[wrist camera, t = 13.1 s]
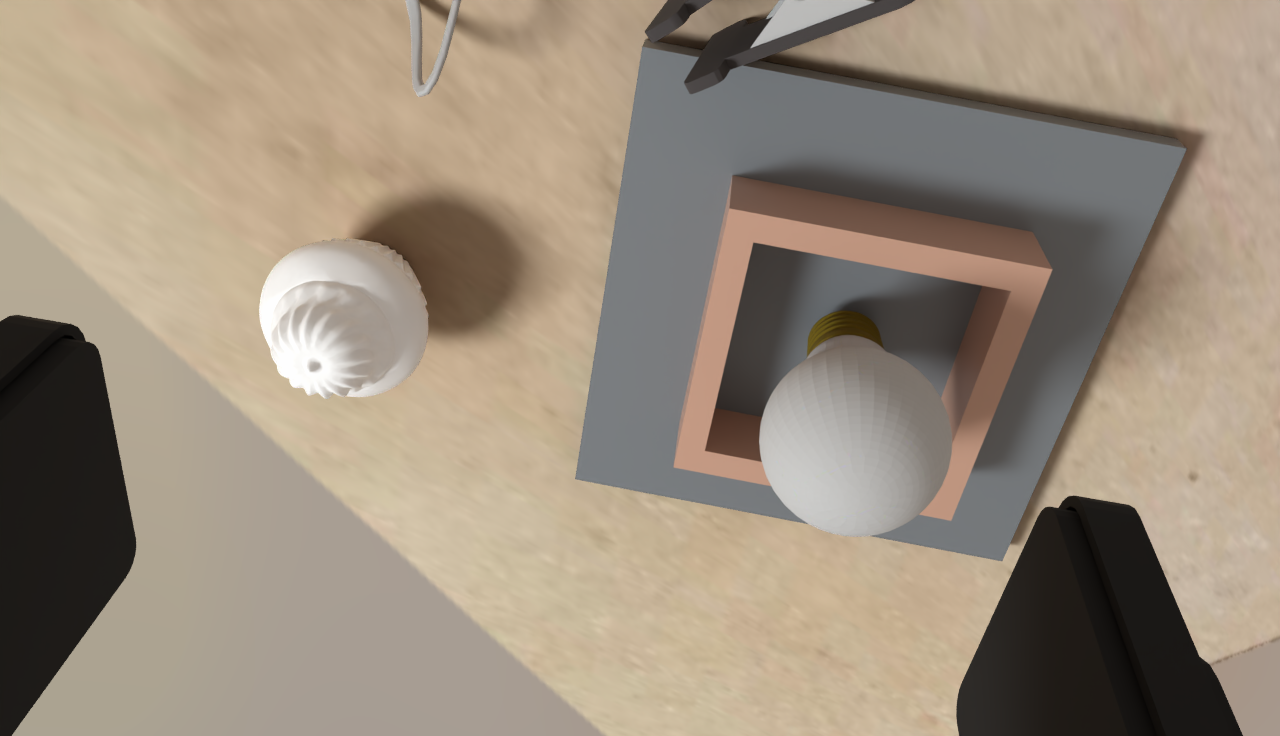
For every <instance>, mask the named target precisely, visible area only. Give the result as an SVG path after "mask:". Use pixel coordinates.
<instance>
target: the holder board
mask: <svg viewBox="0 0 1280 736" xmlns="http://www.w3.org/2000/svg"><path fill="white" fill-rule="evenodd" d="M702 52H703V50H700V49H694V48H689V47H684V46H678V45H673V44H668V43H662V42H657V41H656V42H654V43H652V42H651V41H650V40H645V42H644V44H643V47H642V53H641V59H640V66H639V72H638V79H637V85H636V91H635V98H634V104H633V111H632V117H631V124H630V130H629V136H628V143H627V149H626V156H625V162H624V169H623V175H622V181H621V188H620V194H619V201H618V207H617V214H616V220H615V226H614V233H613V239H612V246H611V252H610V259H609V265H608V272H607V278H606V284H605V291H604V297H603V304H602V310H601V317H600V323H599V329H598V336H597V342H596V349H595V355H594V362H593V368H592V374H591V381H590V387H589V394H588V400H587V407H586V413H585V419H584V426H583V432H582V439H581V445H580V452H579V458H578V464H577V471H576V477H575V479H577V480H582V481H587V482H593V483H598V484H603V485H608V486H613V487H619V488H624V489H629V490H634V491H639V492H645V493H650V494H655V495H660V496H665V497H671V498H676V499H681V500H686V501H691V502H697V503H702V504H707V505H712V506H717V507H723V508H728V509H733V510H738V511H743V512H749V513H754V514H759V515H764V516H769V517H775V518H780V519H785V520H790V521H795V522H801V523H806V522H805V521H803V520H802V519H800V518H799V517H797V516H796V515H795V514H794V513H793V512H792V511H791V510H789V509H788V508H787V507H786V506H785V505H784V504H783V502H782V501H781V500H780V498H779V497H778V496H777V495H776V493H775V492H774V490H773V488H772V486H771V484H770V483H769V481H768V479H767V476H766V474H765V470H764V467H763V464H762V461H761V454H760V445H759V437H760V425H761V420H762V417H763V413H764V410H765V407H766V404H767V402H768V400H769V398H770V396H771V394H772V392H773V391H774V389H775V388H776V387H777V385H778V384H779V382H780V381H781V380H782V379H783V378H784V377H785V376H786V375H787V374H788V373H789V372H790V371H791V370H792V369H793V368H794V367H796V366H797V365H798V364H800V363H801V362H803V361H804V360H806V359H807V345H808V336H809V333H810V331H811V329H812V327H813V326H814V325H815V323H816V322H817V321H818V320H820V319H821V318H822V317H824V316H826V315H828V314H830V313H833V312H837V311H854V312H858V313H861V314H863V315H865V316H867V317H868V318H869V319H871V320H872V321H873V322H874V323H875V325H876V326H877V328H878V330H879V332H880V336H881V340H882V343H883V347H884V350H885V351H886V352H888V353H891V354H893V355H895V356H897V357H899V358H901V359H903V360H905V361H907V362H908V363H909V364H911V365H912V366H913V367H915V368H916V369H917V370H919V371H920V372H921V373H922V374H923V375H924V376H925V377H926V378H927V379H928V380H929V382H930V383H931V384H932V385H933V387H934V388H935V390H936V391H937V393H938V394H939V396H940V397H941V399H942V401H943V404H944V406H945V409H946V411H947V414H948V417H949V422H950V427H951V432H952V454H951V460H950V465H949V469H948V472H947V475H946V477H945V479H944V482H943V484H942V486H941V488H940V490H939V491H938V493H937V494H936V496H935V498H934V499H933V500H932V501H931V503H930V504H929V505H928V506H927V507H926V508H925V509H924V510H923V511H922V512H921V513H920V514H918V515H917V516H916V517H915V518H914V519H912V520H911V521H909V522H907V523H906V524H904V525H902V526H900V527H898V528H896V529H893V530H891V531H889V532H885V533H882V534H878V535H872V536H873V537H878V538H884V539H889V540H894V541H899V542H904V543H910V544H915V545H920V546H925V547H930V548H936V549H941V550H946V551H951V552H956V553H962V554H967V555H972V556H977V557H982V558H988V559H993V560H998V561H1002V560H1003V558H1004V556H1005V554H1006V551H1007V549H1008V547H1009V545H1010V542H1011V540H1012V538H1013V536H1014V534H1015V531H1016V529H1017V527H1018V525H1019V522H1020V520H1021V518H1022V516H1023V513H1024V511H1025V509H1026V507H1027V505H1028V502H1029V500H1030V498H1031V496H1032V493H1033V491H1034V489H1035V487H1036V484H1037V482H1038V480H1039V478H1040V476H1041V473H1042V471H1043V469H1044V467H1045V464H1046V462H1047V460H1048V458H1049V455H1050V453H1051V451H1052V449H1053V446H1054V444H1055V442H1056V440H1057V438H1058V435H1059V433H1060V431H1061V429H1062V426H1063V424H1064V422H1065V420H1066V417H1067V415H1068V413H1069V411H1070V409H1071V406H1072V404H1073V402H1074V400H1075V397H1076V395H1077V393H1078V391H1079V388H1080V386H1081V384H1082V382H1083V380H1084V377H1085V375H1086V373H1087V371H1088V368H1089V366H1090V364H1091V362H1092V359H1093V357H1094V355H1095V353H1096V350H1097V348H1098V346H1099V344H1100V342H1101V339H1102V337H1103V335H1104V333H1105V330H1106V328H1107V326H1108V324H1109V321H1110V319H1111V317H1112V315H1113V313H1114V310H1115V308H1116V306H1117V304H1118V301H1119V299H1120V297H1121V295H1122V292H1123V290H1124V288H1125V286H1126V284H1127V281H1128V279H1129V277H1130V275H1131V272H1132V270H1133V268H1134V266H1135V263H1136V261H1137V259H1138V257H1139V254H1140V252H1141V250H1142V248H1143V246H1144V243H1145V241H1146V239H1147V237H1148V234H1149V232H1150V230H1151V228H1152V225H1153V223H1154V221H1155V219H1156V217H1157V214H1158V212H1159V210H1160V208H1161V205H1162V203H1163V201H1164V199H1165V196H1166V194H1167V192H1168V190H1169V188H1170V185H1171V183H1172V181H1173V179H1174V176H1175V174H1176V172H1177V170H1178V167H1179V165H1180V163H1181V161H1182V158H1183V156H1184V154H1185V152H1186V150H1187V148H1186V147H1185V146H1184V145H1183V144H1182V143H1181V142H1180V141H1179V140H1178V139H1175V138H1170V137H1165V136H1159V135H1154V134H1149V133H1143V132H1138V131H1133V130H1127V129H1122V128H1117V127H1111V126H1106V125H1101V124H1095V123H1090V122H1084V121H1079V120H1074V119H1068V118H1063V117H1058V116H1052V115H1047V114H1042V113H1036V112H1031V111H1026V110H1020V109H1015V108H1010V107H1004V106H999V105H994V104H988V103H983V102H978V101H972V100H967V99H962V98H956V97H951V96H946V95H940V94H935V93H930V92H924V91H919V90H914V89H908V88H903V87H898V86H892V85H887V84H881V83H876V82H871V81H865V80H860V79H855V78H849V77H844V76H839V75H833V74H828V73H823V72H817V71H812V70H807V69H801V68H796V67H791V66H785V65H780V64H775V63H769V62H764V61H759V60H756V61H753V62H751V63H748V64H745V65H742V66H740V67H737V68H734V69H731V70H730V71H729V73H728V75H727V76H726V78H725V79H724V80H723V81H721V82H720V83H718V84H716V85H714V86H712V87H709V88H707V89H704V90H702V91H700V92H697V93H694V94H689V92H688V90H687V88H686V86H685V84H684V81H685V79H686V78H687V76H688V74H689V73H690V71H691V69H692V68H693V66H694V65H695V63H696V61H697V60H698V58H699V57H700V55H701V53H702ZM806 524H808V523H806Z"/></svg>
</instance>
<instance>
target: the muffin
mask: <svg viewBox="0 0 1280 736" xmlns="http://www.w3.org/2000/svg"><path fill="white" fill-rule="evenodd" d="M426 305H427V301H426V299H425V297H424V295H423V293H422V291H421V285H420V283H419V281H418V279H417V277H416V275H415V273H414V272H413V270H412V268H411V267H410V266H409V263H408V261H406V260H403V257H402V255H399V254H397V253H396V251H395V250H391V249H390V248H389V247H388V246H384V245H381V243H377V242H371V241H365V240H358V239H351V238H346V239H335V238H333V239H332V240H331V241H328V240H323V241H321V242H316V243H312V244H308V245H305V246H302V247H300V248H297V249H295V250H293V251H292V252H290V253H289V254H287V255H286V256H285V257H283V258H282V259H281V260H280V261H279V262H278V263H277V264H276V265H275V267H274V268H273V269H272V271H271V272H270V274H269V276H268V278H267V279H266V282H265V284H264V287H263V290H262V294H261V298H260V307H259V314H260V322H261V327H262V330H263V333H264V336H265V339H266V341H267V343H268V345H269V347H270V349H271V356H272V359H273V360H274V362H275V363H276V364H277V370H278V372H279V373H280V374H281V375H282V376H283V377H285V378H289V381H290V384H291V386H292V387H294V388H304V389H305V391H306V393H307V394H308V395H313V394H315V393H319V394H320V395H321V396H322V397H324V398H326V399H328V398H330V397H331V396H332V394H333V393H335V394H337V395H339V396H342V397H345V396H350V397H367V396H373V395H377V394H380V393H383V392H386V391H388V390H390V389H392V388H394V387H396V386H397V385H399V384H400V383H402V382H403V381H404V380H406V379H407V378H408V377H409V376H410V375H411V374H412V373H413V372H414V370H415V369H416V367H417V366H418V364H419V362H420V360H421V358H422V356H423V353H424V351H425V347H426V343H427V337H428V317H429V314H428V312H427V310H426V307H425V306H426Z"/></svg>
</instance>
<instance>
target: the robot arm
mask: <svg viewBox="0 0 1280 736" xmlns="http://www.w3.org/2000/svg"><path fill="white" fill-rule="evenodd" d="M135 552H136V537H135V532H134V528H133V522H132V517H131V512H130V506H129V501H128V496H127V491H126V486H125V481H124V475H123V470H122V466H121V460H120V455H119V450H118V444H117V440H116V435H115V429H114V424H113V419H112V414H111V408H110V403H109V398H108V394H107V388H106V383H105V377H104V372H103V367H102V362H101V357H100V354H99V351H98V349H97V347H96V346H95V345H94V344H92V343H90V342H86V341H85V338H84V335H83V333H82V332H81V331H80V329H79V328H78V327H76V326H74V325H72V324H67V323H61V322H56V321H50V320H44V319H38V318H32V317H26V316H20V315H14V316H9V317H7V318H5V319H4V320H2V321H0V736H12V734H13V733H14V731H15V730H16V729H17V727H18V726H19V724H20V723H21V722H22V720H23V719H24V718H25V716H26V715H27V713H28V712H29V711H30V709H31V708H32V707H33V705H34V704H35V702H36V701H37V700H38V698H39V697H40V695H41V694H42V693H43V691H44V690H45V689H46V687H47V686H48V684H49V683H50V682H51V680H52V679H53V677H54V676H55V675H56V673H57V672H58V671H59V669H60V668H61V666H62V665H63V664H64V662H65V661H66V660H67V658H68V657H69V655H70V654H71V653H72V651H73V650H74V648H75V647H76V645H77V644H78V643H79V641H80V640H81V638H82V637H83V636H84V635H85V633H86V632H87V630H88V629H89V628H90V626H91V625H92V623H93V622H94V621H95V619H96V618H97V616H98V615H99V614H100V612H101V611H102V610H103V608H104V607H105V606H106V604H107V603H108V601H109V600H110V599H111V597H112V596H113V594H114V593H115V592H116V590H117V589H118V587H119V586H120V585H121V583H122V582H123V581H124V579H125V578H126V576H127V574H128V573H129V571H130V569H131V566H132V564H133V561H134V557H135ZM957 725H958V731H959V736H1243V735H1242V732H1241V730H1240V728H1239V726H1238V723H1237V721H1236V719H1235V716H1234V714H1233V712H1232V710H1231V707H1230V705H1229V703H1228V700H1227V698H1226V696H1225V693H1224V691H1223V689H1222V686H1221V684H1220V682H1219V680H1218V678H1217V676H1216V675H1215V673H1214V671H1213V670H1212V668H1211V666H1210V665H1209V664H1208V663H1207V662H1206V661H1204V660H1203V659H1202V658H1201V657H1199V655H1198V652H1197V650H1196V648H1195V645H1194V643H1193V641H1192V638H1191V636H1190V634H1189V631H1188V629H1187V627H1186V624H1185V622H1184V619H1183V617H1182V615H1181V612H1180V610H1179V608H1178V605H1177V603H1176V601H1175V598H1174V596H1173V594H1172V591H1171V589H1170V587H1169V584H1168V582H1167V579H1166V577H1165V575H1164V572H1163V570H1162V568H1161V565H1160V563H1159V561H1158V558H1157V556H1156V554H1155V551H1154V549H1153V547H1152V544H1151V542H1150V539H1149V537H1148V535H1147V532H1146V530H1145V528H1144V525H1143V523H1142V521H1141V518H1140V516H1139V514H1138V513H1137V511H1136V510H1135V508H1133V507H1131V506H1130V505H1126V504H1120V503H1114V502H1108V501H1102V500H1096V499H1091V498H1085V497H1079V496H1069V497H1067V498H1066V499H1065V500H1064V501H1063V502H1062V503H1061V505H1060V506H1059V508H1054V507H1045V508H1044V509H1043V510H1042V511H1041V513H1040V514H1039V516H1038V518H1037V520H1036V522H1035V525H1034V527H1033V529H1032V531H1031V533H1030V535H1029V538H1028V540H1027V542H1026V544H1025V546H1024V548H1023V551H1022V553H1021V555H1020V557H1019V559H1018V562H1017V564H1016V566H1015V568H1014V570H1013V572H1012V575H1011V577H1010V579H1009V581H1008V583H1007V586H1006V588H1005V590H1004V592H1003V594H1002V596H1001V599H1000V601H999V603H998V605H997V607H996V609H995V612H994V614H993V616H992V618H991V620H990V623H989V625H988V627H987V629H986V631H985V633H984V636H983V638H982V640H981V642H980V644H979V647H978V649H977V651H976V653H975V655H974V657H973V660H972V662H971V664H970V666H969V668H968V670H967V673H966V675H965V677H964V679H963V681H962V684H961V687H960V689H959V694H958V699H957Z"/></svg>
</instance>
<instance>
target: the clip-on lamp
mask: <svg viewBox="0 0 1280 736" xmlns="http://www.w3.org/2000/svg"><path fill="white" fill-rule="evenodd" d="M710 1H712V0H668V1H667V2H666V4H665V5H664V6H663V8H662V9H661V10H660V12H659V13H658V14H657V16H656V17H655V18H654V20H653V21H652V22H651V24H650V25H649V26H648V28H647V29H646V30H645V33H646V34H647V36H648V37H649V39H650V41H651V42H652V43H654V42H656V41H658V40H659V39H661V38H663V37H664V36H666V35H668V34H669V33H671V32H673V31H674V30H676V29H677V28H679V27H680V26H681V25H683V24H684V23H685V22H686V21H687V19H688V18H689V16H690V15H691V14H693V13H694V12H695V11H697V10H698V9H700V8H701V7H703V6H704V5H706V4H707V3H709V2H710ZM913 1H914V0H779V1H778V3H777V4H776V5H775V7H774V8H773V9H772V11H771V12H770V14H769V15H768V16H767V18H765V19H762V20H759V21H757V22H754V23H751V24H749V25H748V23H747V21H746V20H742V21H739V22H737V23H735V24H733V25H731V26H729V27H727V28H725V29H723V30H721V31H719V32H717V33H715V34H714V35H713V36H712V37H711V39H710V40H709V42H708V44H707V45H706V47H705V48H704V50H703V52H702V53H701V55H700V57H699V58H698V60H697V61H696V63H695V65H694V66H693V68H692V69H691V71H690V73H689V74H688V76H687V78H686V79H685V81H684V84H685V86H686V88H687V90H688V92H689V94H694V93H697V92H700V91H702V90H704V89H707V88H709V87H712V86H714V85H716V84H718V83H720V82H721V81H723V80H724V79H725V78H726V76H727V75H728V73H729V71H730V70H731V69H734V68H737V67H740V66H742V65H745V64H748V63H751V62H753V61H756V60H759V59H762V58H764V57H767V56H770V55H773V54H775V53H778V52H781V51H784V50H787V49H789V48H792V47H795V46H798V45H800V44H803V43H806V42H809V41H811V40H814V39H817V38H820V37H822V36H825V35H828V34H831V33H833V32H836V31H839V30H842V29H844V28H847V27H850V26H853V25H855V24H858V23H861V22H864V21H866V20H869V19H872V18H875V17H877V16H880V15H883V14H886V13H888V12H891V11H894V10H897V9H899V8H902V7H904V6H906V5H908V4H910V3H912V2H913ZM460 2H461V0H453V1H452V5H451V9H450V13H449V17H448V21H447V25H446V29H445V33H444V37H443V41H442V44H441V48H440V51H439V54H438V57H437V60H436V62H435V65H434V68H433V71H432V73H431V75H430V76H429V78H428V80H427V82H426V83H425V84H424V83H423V80H422V17H421V8H420V3H419V0H406V5H407V9H408V14H409V19H410V29H411V52H412V83H413V88H414V90H415V92H416V94H417V96H419V97H422V96H424V95H427V94H429V93H430V92H431V90H432V88H433V87H434V85H435V84H436V82H437V81H438V79H439V76H440V73H441V71H442V68H443V65H444V63H445V60H446V57H447V54H448V50H449V46H450V43H451V39H452V35H453V31H454V27H455V24H456V19H457V15H458V11H459V7H460Z"/></svg>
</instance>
